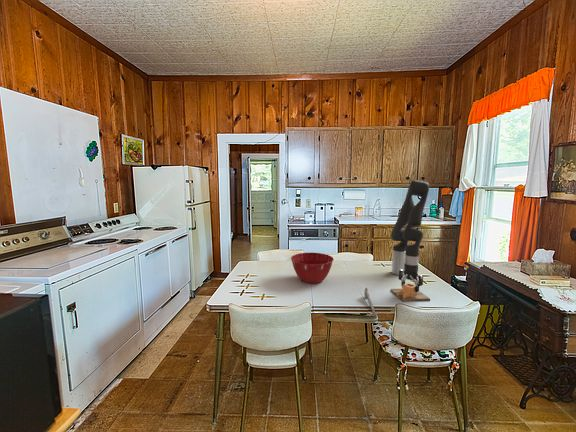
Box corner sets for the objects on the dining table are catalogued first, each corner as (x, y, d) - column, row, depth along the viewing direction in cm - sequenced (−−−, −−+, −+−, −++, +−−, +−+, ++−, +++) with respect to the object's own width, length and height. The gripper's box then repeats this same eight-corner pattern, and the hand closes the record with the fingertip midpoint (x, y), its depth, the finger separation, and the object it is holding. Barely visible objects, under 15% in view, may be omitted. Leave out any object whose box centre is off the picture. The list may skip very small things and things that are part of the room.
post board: (390, 290, 182) (391, 282, 181) (415, 290, 183) (416, 281, 182) (402, 301, 166) (403, 292, 165) (430, 300, 167) (430, 291, 166)
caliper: (364, 297, 172) (364, 286, 171) (366, 297, 172) (366, 286, 171) (372, 313, 152) (373, 301, 151) (375, 313, 152) (375, 301, 151)
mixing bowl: (331, 289, 184) (332, 265, 182) (286, 285, 190) (287, 262, 188) (334, 274, 211) (334, 253, 210) (294, 272, 217) (294, 251, 215)
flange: (408, 290, 178) (408, 282, 178) (417, 294, 174) (417, 285, 173) (395, 295, 172) (396, 286, 171) (405, 298, 167) (405, 290, 166)
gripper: (426, 264, 168) (424, 292, 170) (404, 259, 180) (402, 284, 182) (419, 266, 164) (417, 295, 166) (396, 261, 176) (395, 287, 178)
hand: (409, 289), depth 174 cm, fingers open, 8 cm apart
